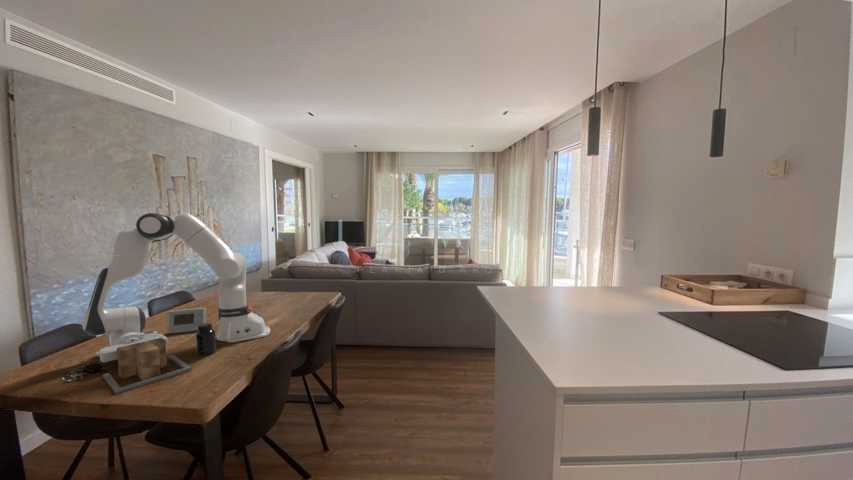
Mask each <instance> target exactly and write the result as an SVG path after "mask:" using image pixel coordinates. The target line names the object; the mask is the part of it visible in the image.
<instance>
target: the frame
mask: <svg viewBox="0 0 853 480" xmlns="http://www.w3.org/2000/svg"><path fill="white" fill-rule="evenodd" d="M168 357H169V360H170V361H172V362H173V363H174V364H176V365H177V366H178V367H180V369H179V368H178V369H177V370H173V371H170V372H167V373H166V372H165V373H162V374H161V375H159V376H156V377H153V378H149V379H146V380H143V381H142V380H140V381H137V382H133V383H130V384H127V385H123V386H120V385H119V383H118V382H117V381H116V380H115V379H114V377H112V375H111V374H110V373H109V372H107V373H103V374H102V378H103V379H104V380H105V381H106V383H107V384H108V385H109V387H110V388H111V389H112V391H113V392H114V394H119V393H123V392H125V391H128V390H131V389H135V388H138V387H141V386H146V385H147V384H151V383H154V382H157V381H161V380H163V379H167V378H171V377H173V376H176V375H177V376H178V375H180V374H183V373H186V372H190V371H192V366H190V365H188V364H187V363H186V362H184V361H183V360H181V359H180V358H179V357H177V356H175V355H174V354H172V355H169V356H168Z"/></svg>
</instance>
